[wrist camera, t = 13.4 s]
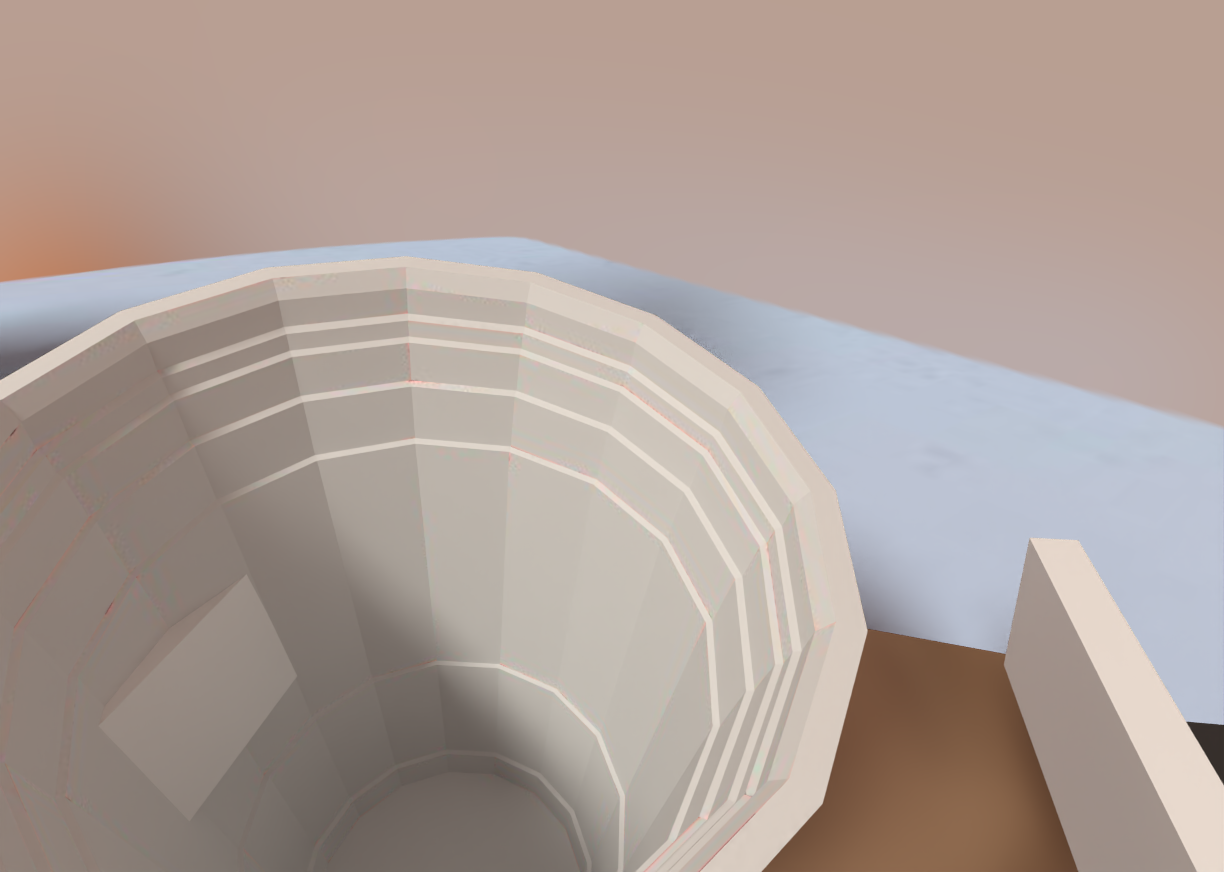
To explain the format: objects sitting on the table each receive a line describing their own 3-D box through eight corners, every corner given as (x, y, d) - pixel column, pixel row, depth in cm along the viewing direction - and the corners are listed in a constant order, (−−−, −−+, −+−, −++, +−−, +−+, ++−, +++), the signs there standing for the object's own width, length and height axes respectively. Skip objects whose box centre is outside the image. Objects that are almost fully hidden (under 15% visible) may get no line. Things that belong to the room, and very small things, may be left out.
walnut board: (-48, 1195, 14) (-71, 1165, 14) (478, 580, 30) (475, 556, 30) (1254, 1993, 8) (1286, 1985, 8) (1056, 691, 24) (1063, 664, 24)
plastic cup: (475, 1509, 11) (341, 1699, 4) (48, 971, 16) (-421, 538, 8) (813, 852, 18) (1015, 435, 11) (451, 608, 23) (408, 190, 15)
